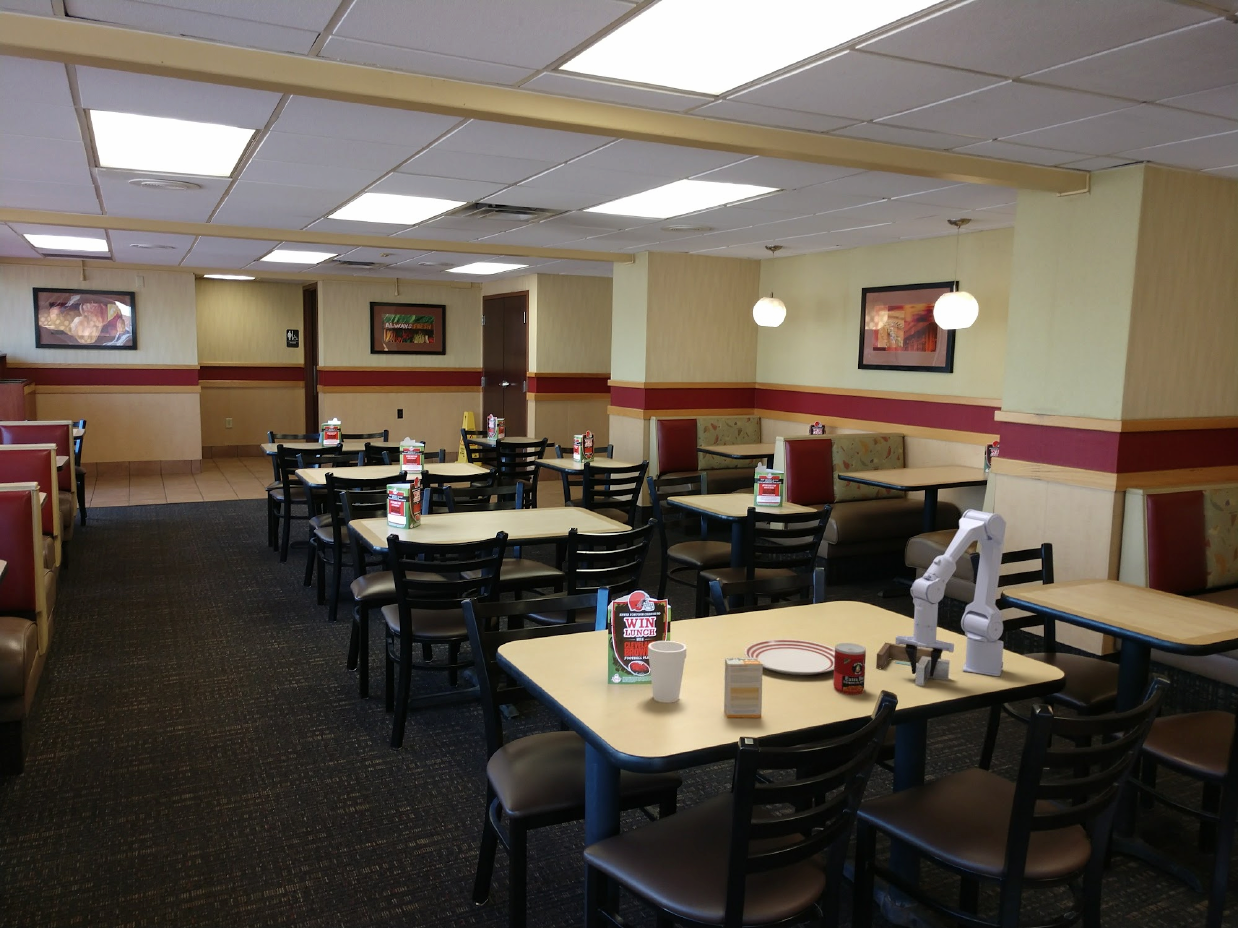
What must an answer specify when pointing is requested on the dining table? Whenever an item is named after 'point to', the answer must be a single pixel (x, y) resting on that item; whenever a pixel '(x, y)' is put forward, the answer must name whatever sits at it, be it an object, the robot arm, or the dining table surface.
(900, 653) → the brown wooden l-shape
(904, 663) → the pose mark
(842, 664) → the canned food
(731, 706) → the supplement box
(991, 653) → the robot arm
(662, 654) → the foam cup
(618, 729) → the dining table surface
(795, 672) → the dinner plate
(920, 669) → the bracket
